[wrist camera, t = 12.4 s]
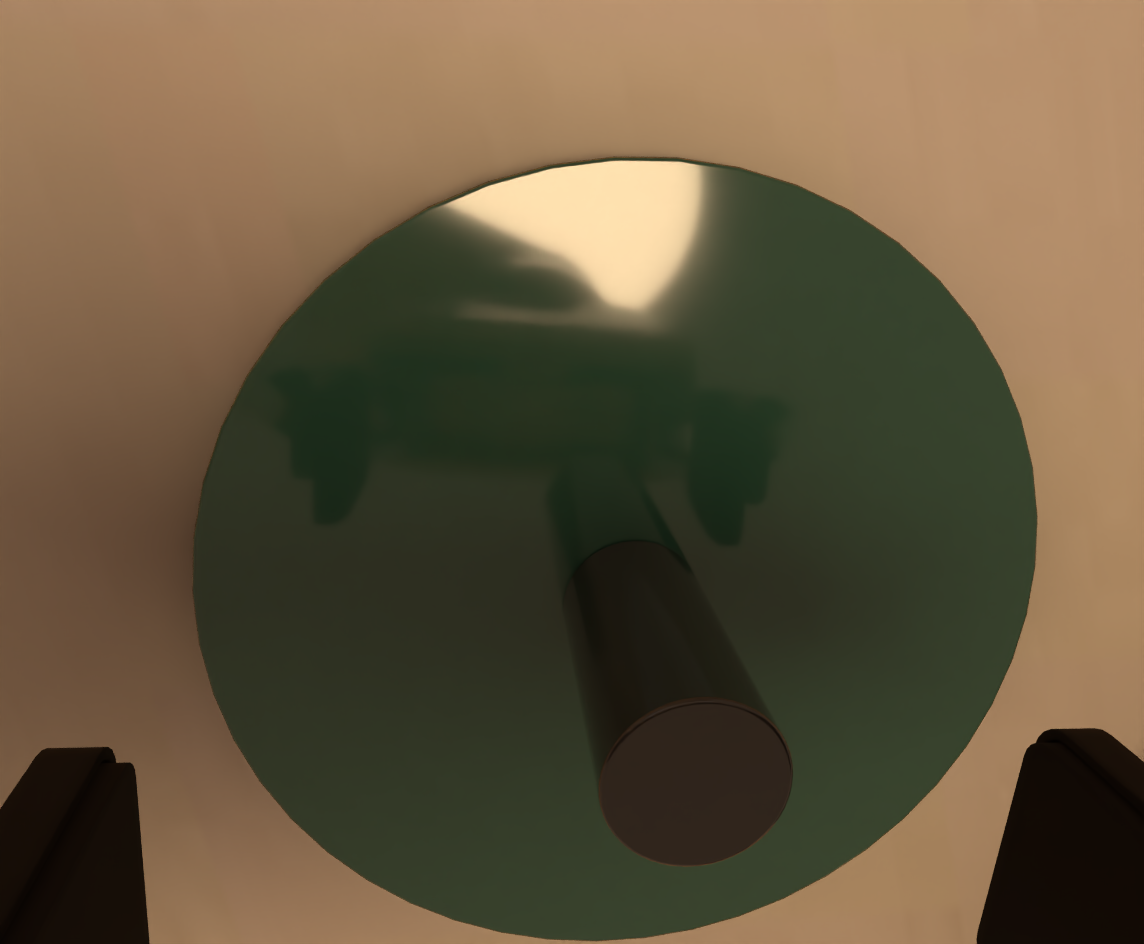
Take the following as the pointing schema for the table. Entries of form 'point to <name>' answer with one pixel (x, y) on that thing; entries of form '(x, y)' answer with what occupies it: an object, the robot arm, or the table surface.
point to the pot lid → (614, 548)
